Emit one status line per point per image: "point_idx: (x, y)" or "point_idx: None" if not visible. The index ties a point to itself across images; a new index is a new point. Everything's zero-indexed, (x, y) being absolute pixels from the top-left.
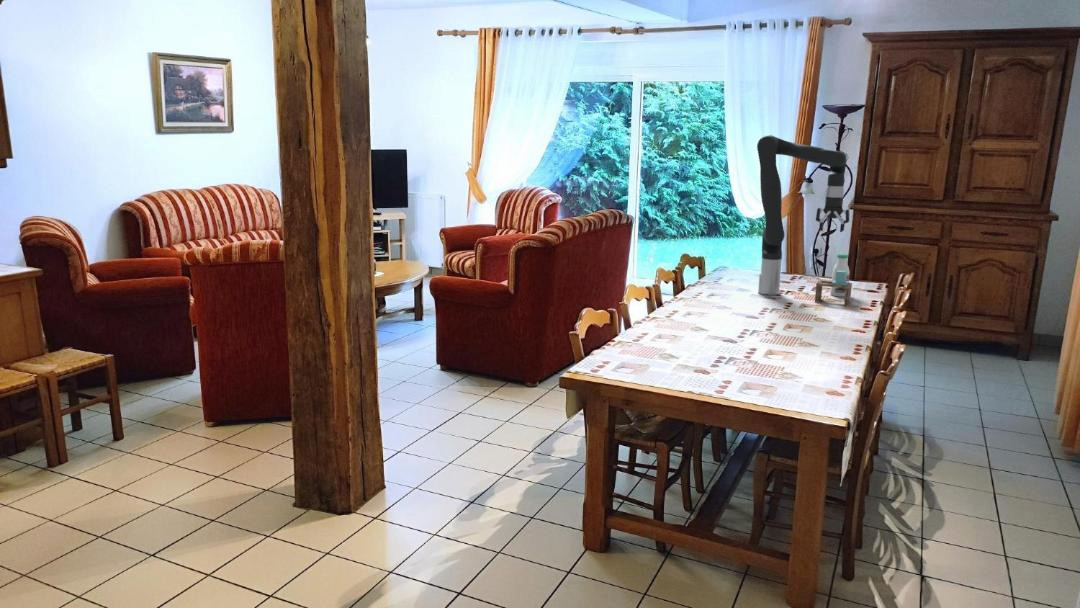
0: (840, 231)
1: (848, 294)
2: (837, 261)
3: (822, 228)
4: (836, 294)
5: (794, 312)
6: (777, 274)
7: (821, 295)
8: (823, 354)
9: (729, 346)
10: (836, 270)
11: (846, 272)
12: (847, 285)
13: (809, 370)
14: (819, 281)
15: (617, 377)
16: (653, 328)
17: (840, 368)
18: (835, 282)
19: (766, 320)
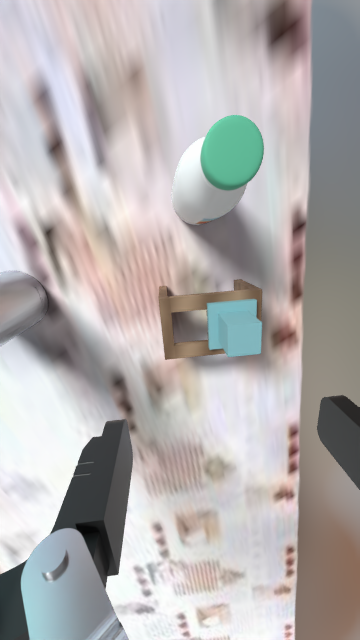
0: (325, 439)
1: None
2: (201, 179)
3: (127, 470)
4: (194, 224)
5: (159, 447)
6: (10, 334)
7: (166, 287)
8: (256, 593)
9: (153, 622)
10: (198, 212)
11: (259, 328)
12: None
13: (252, 631)
14: (164, 327)
15: None
16: None
17: (279, 614)
18: (220, 344)
19: (139, 517)
